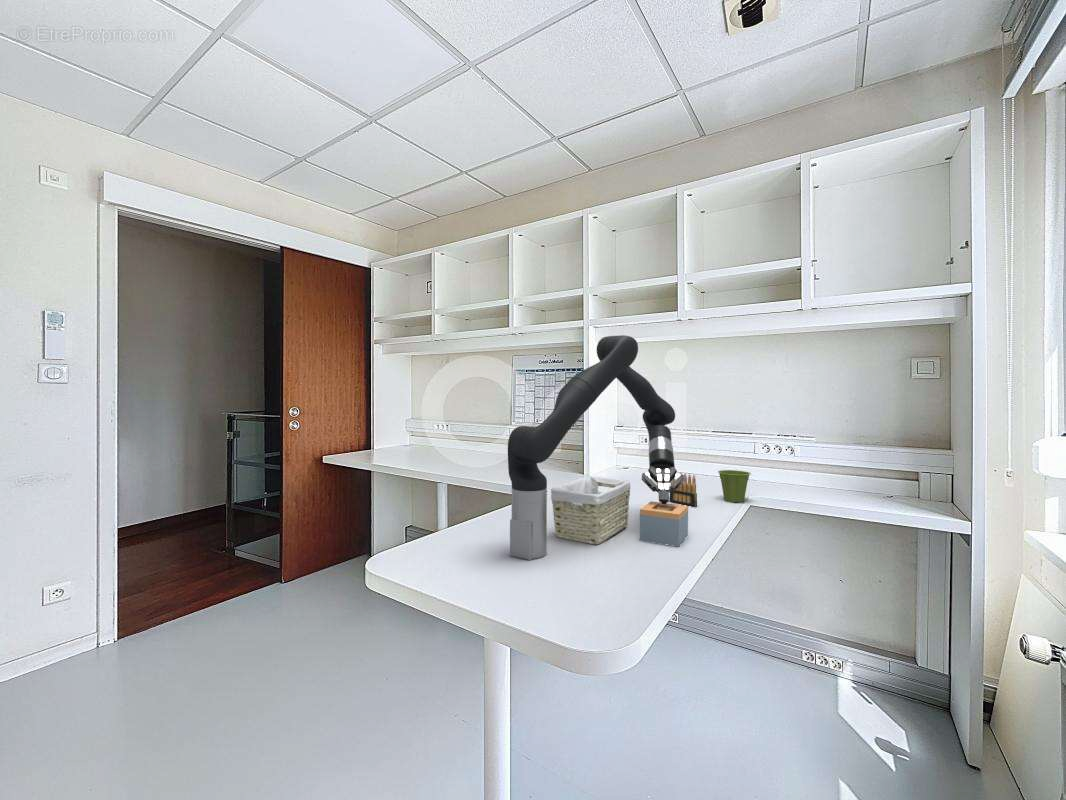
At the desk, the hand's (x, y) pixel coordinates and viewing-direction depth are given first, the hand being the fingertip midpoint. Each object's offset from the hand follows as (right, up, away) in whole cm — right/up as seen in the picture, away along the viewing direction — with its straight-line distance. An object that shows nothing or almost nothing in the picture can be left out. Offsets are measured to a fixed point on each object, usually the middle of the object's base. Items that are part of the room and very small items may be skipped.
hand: (664, 502), depth 136 cm
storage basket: (-20, -11, +6) cm, 24 cm away
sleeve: (0, -10, 0) cm, 10 cm away
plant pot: (+40, -10, +48) cm, 63 cm away
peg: (0, -10, 0) cm, 10 cm away
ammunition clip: (+19, -10, +41) cm, 46 cm away
